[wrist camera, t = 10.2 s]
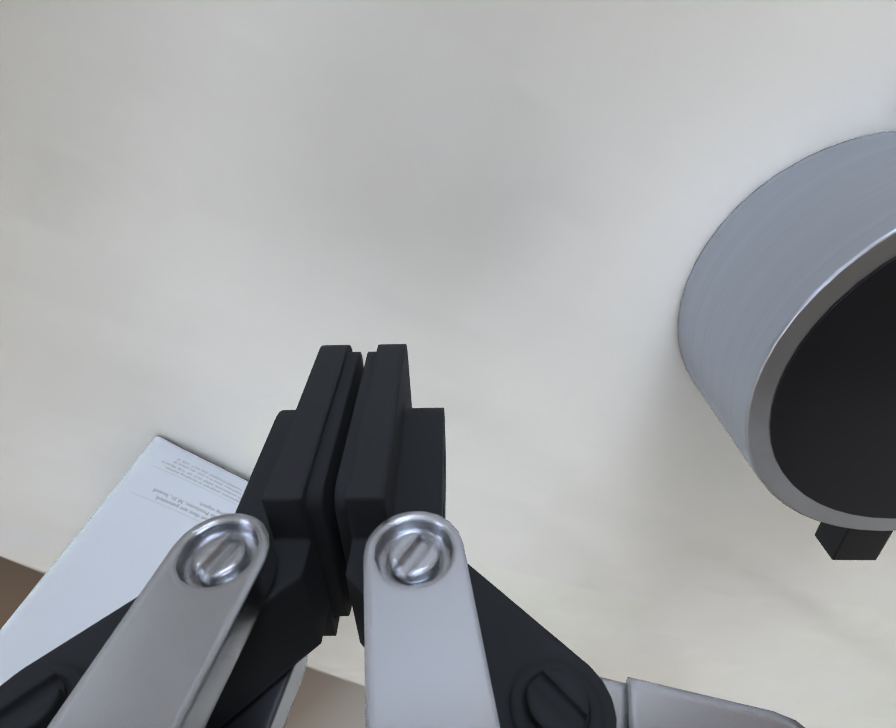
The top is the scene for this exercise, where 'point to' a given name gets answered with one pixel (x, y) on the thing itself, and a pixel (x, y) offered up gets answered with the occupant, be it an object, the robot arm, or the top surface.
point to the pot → (808, 339)
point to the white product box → (118, 549)
